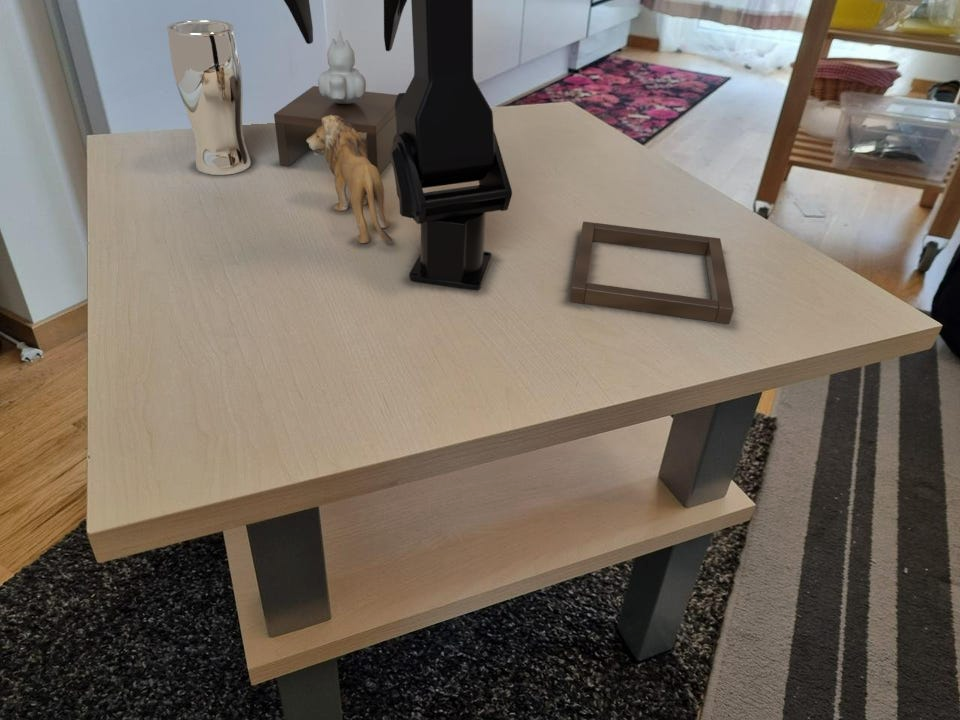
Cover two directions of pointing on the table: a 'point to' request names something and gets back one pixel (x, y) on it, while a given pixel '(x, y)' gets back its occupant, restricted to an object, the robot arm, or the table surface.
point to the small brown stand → (363, 116)
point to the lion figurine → (351, 173)
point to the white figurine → (341, 75)
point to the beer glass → (211, 92)
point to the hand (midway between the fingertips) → (349, 46)
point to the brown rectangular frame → (648, 300)
